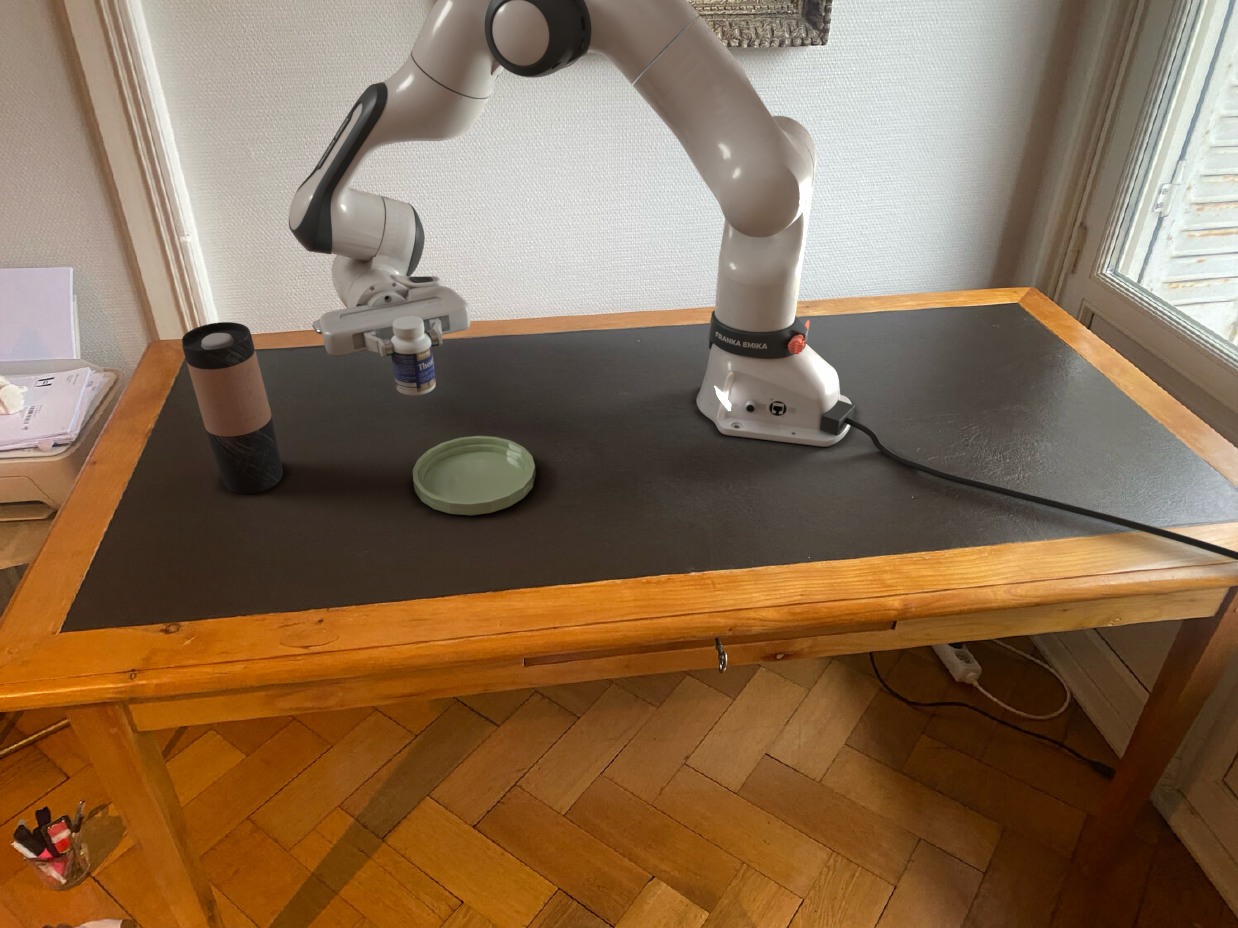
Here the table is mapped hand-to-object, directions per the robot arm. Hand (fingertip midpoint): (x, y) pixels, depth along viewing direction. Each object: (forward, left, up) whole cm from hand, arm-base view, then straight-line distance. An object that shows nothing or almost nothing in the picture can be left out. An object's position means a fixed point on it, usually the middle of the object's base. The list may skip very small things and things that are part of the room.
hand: (413, 346), depth 117 cm
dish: (-13, +8, -12) cm, 20 cm away
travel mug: (+13, +19, -13) cm, 26 cm away
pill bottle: (+1, -1, -7) cm, 7 cm away
